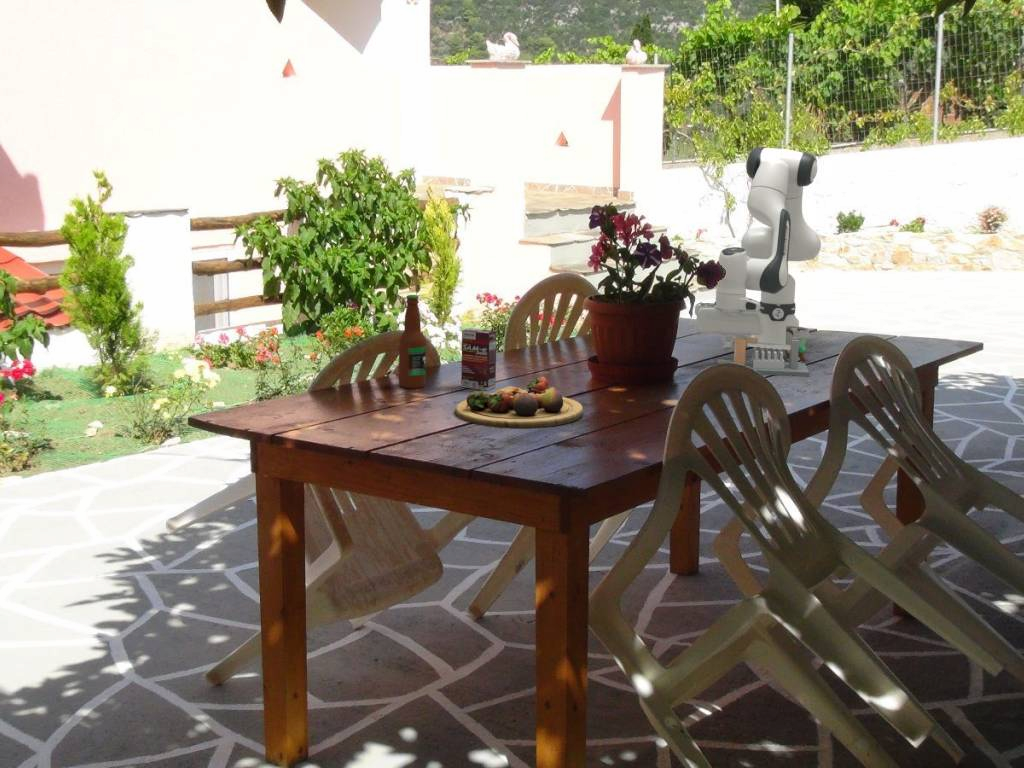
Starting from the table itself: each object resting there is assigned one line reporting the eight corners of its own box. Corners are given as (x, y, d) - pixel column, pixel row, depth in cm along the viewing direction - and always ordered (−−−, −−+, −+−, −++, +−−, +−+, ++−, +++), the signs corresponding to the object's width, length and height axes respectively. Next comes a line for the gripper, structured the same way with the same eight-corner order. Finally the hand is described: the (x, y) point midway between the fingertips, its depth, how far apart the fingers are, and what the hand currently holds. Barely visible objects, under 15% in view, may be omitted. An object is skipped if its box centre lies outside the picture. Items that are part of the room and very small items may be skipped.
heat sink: (717, 363, 393) (719, 332, 392) (804, 366, 390) (806, 335, 388) (719, 372, 378) (720, 340, 376) (809, 376, 375) (811, 344, 373)
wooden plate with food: (510, 396, 342) (510, 365, 340) (608, 412, 322) (609, 380, 320) (428, 417, 317) (428, 385, 316) (529, 437, 298) (529, 402, 296)
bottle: (417, 389, 346) (417, 297, 341) (394, 387, 349) (393, 296, 344) (430, 385, 352) (430, 294, 347) (407, 382, 355) (407, 293, 350)
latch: (733, 361, 388) (735, 336, 386) (755, 362, 387) (756, 337, 385) (734, 365, 382) (735, 339, 380) (756, 366, 381) (758, 340, 380)
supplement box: (460, 387, 350) (460, 330, 347) (469, 384, 354) (469, 327, 351) (488, 390, 346) (488, 332, 343) (496, 387, 350) (497, 330, 347)
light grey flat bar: (746, 345, 385) (746, 340, 384) (796, 349, 383) (796, 344, 383) (746, 346, 382) (747, 342, 382) (796, 351, 380) (797, 346, 380)
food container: (811, 364, 395) (813, 332, 393) (791, 363, 395) (793, 331, 393) (803, 357, 407) (805, 326, 405) (784, 356, 407) (786, 325, 405)
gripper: (695, 302, 380) (693, 348, 383) (765, 305, 377) (762, 351, 380) (695, 299, 386) (693, 345, 389) (764, 302, 383) (761, 348, 386)
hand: (728, 348), depth 384 cm, fingers closed
